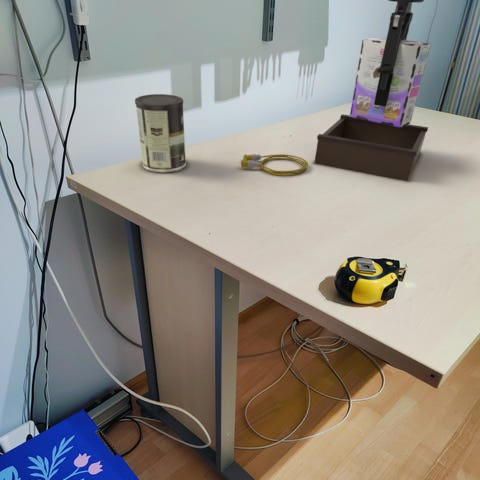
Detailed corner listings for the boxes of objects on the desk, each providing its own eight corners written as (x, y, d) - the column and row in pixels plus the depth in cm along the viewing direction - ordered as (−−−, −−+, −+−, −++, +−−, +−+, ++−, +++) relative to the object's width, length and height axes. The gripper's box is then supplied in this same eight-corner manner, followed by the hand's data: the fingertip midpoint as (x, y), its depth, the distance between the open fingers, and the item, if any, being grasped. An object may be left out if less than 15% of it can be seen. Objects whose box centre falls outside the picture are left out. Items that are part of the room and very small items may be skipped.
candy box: (411, 124, 101) (433, 42, 90) (399, 128, 97) (420, 44, 87) (360, 112, 108) (375, 35, 97) (348, 116, 104) (362, 37, 94)
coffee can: (179, 155, 105) (175, 92, 96) (191, 170, 98) (189, 103, 89) (137, 159, 102) (130, 94, 93) (147, 175, 94) (140, 106, 85)
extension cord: (253, 153, 108) (253, 145, 107) (312, 163, 104) (314, 155, 103) (235, 168, 99) (235, 159, 98) (299, 180, 95) (300, 171, 94)
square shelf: (420, 153, 113) (428, 127, 109) (408, 181, 97) (416, 152, 93) (337, 139, 120) (342, 114, 116) (313, 163, 104) (317, 135, 100)
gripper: (399, -23, 94) (375, 92, 108) (382, -24, 80) (357, 108, 94) (434, -22, 91) (405, 96, 106) (423, -23, 77) (391, 113, 92)
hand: (383, 101), depth 100 cm, fingers closed on candy box, 7 cm apart
